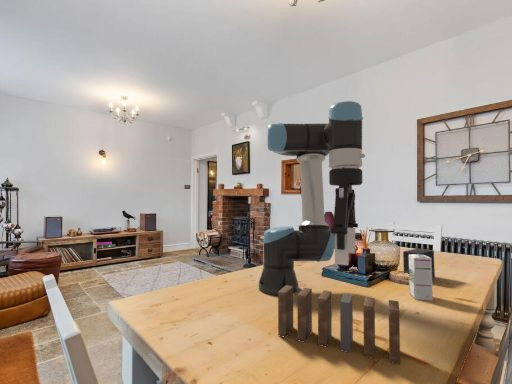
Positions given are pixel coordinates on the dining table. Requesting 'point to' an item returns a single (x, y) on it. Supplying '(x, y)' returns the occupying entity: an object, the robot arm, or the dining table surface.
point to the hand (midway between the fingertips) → (345, 258)
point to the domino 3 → (324, 318)
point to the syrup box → (420, 277)
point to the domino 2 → (304, 314)
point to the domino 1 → (285, 310)
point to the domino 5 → (369, 327)
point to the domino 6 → (394, 332)
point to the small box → (418, 251)
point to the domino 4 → (346, 322)
